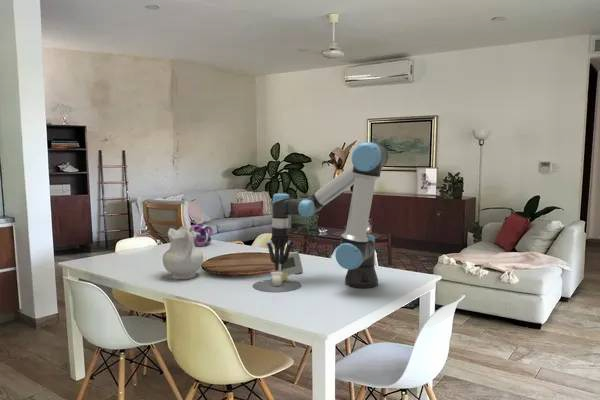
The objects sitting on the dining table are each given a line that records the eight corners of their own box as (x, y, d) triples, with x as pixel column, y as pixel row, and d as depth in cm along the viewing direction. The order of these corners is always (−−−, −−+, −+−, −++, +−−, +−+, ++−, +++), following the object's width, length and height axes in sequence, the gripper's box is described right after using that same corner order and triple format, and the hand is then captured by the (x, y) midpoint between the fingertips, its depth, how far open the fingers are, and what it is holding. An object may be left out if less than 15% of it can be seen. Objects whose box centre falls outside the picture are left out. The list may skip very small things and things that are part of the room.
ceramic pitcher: (213, 279, 225) (215, 228, 225) (178, 284, 211) (180, 230, 210) (188, 272, 240) (190, 224, 239) (154, 276, 226) (156, 225, 225)
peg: (280, 286, 205) (280, 274, 204) (269, 285, 207) (269, 273, 206) (291, 279, 217) (291, 267, 217) (281, 278, 219) (280, 266, 218)
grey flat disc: (311, 286, 209) (311, 284, 209) (278, 297, 192) (278, 295, 192) (276, 278, 223) (276, 276, 223) (242, 287, 207) (242, 285, 207)
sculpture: (184, 248, 311) (189, 242, 293) (188, 224, 316) (193, 217, 299) (207, 251, 316) (213, 245, 298) (210, 227, 322) (216, 221, 304)
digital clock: (278, 279, 222) (278, 257, 221) (269, 275, 230) (269, 253, 229) (307, 274, 231) (306, 253, 230) (297, 270, 238) (297, 250, 237)
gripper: (289, 225, 219) (288, 274, 221) (264, 226, 214) (263, 276, 216) (295, 227, 212) (294, 278, 214) (270, 228, 207) (268, 280, 209)
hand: (278, 277), depth 215 cm, fingers closed
